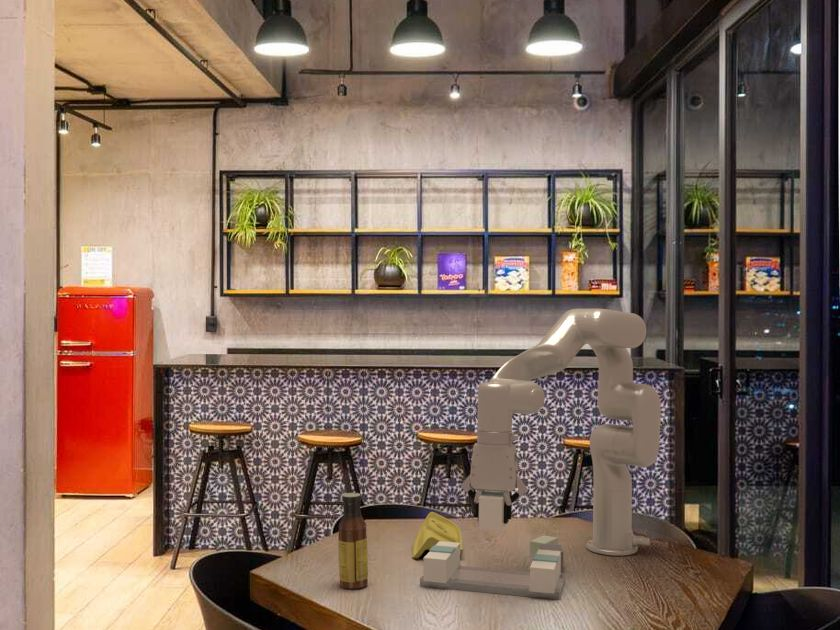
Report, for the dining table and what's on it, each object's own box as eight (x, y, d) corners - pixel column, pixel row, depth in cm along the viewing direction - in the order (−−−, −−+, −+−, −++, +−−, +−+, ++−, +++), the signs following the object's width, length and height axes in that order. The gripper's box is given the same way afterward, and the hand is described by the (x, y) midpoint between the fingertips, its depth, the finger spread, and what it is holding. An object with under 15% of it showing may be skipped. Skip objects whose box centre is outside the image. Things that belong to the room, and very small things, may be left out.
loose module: (507, 523, 186) (508, 490, 186) (501, 531, 178) (502, 497, 178) (485, 521, 187) (485, 488, 187) (478, 529, 180) (478, 496, 180)
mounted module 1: (460, 564, 192) (460, 541, 192) (446, 583, 178) (446, 558, 178) (438, 562, 193) (438, 539, 193) (423, 581, 180) (423, 556, 180)
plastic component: (462, 552, 200) (425, 533, 199) (449, 578, 200) (411, 560, 200) (460, 525, 219) (426, 508, 219) (447, 549, 220) (414, 533, 220)
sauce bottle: (366, 580, 184) (367, 490, 185) (369, 589, 178) (370, 496, 178) (336, 581, 183) (337, 491, 183) (338, 591, 177) (339, 497, 177)
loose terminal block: (557, 553, 207) (557, 537, 207) (544, 560, 202) (544, 543, 202) (543, 551, 210) (543, 535, 210) (529, 557, 204) (530, 541, 204)
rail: (564, 582, 185) (564, 575, 185) (559, 599, 173) (559, 592, 173) (433, 570, 193) (433, 563, 193) (420, 586, 181) (420, 579, 181)
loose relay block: (560, 565, 197) (561, 544, 197) (562, 573, 191) (563, 552, 191) (539, 565, 198) (539, 544, 198) (541, 572, 192) (541, 551, 192)
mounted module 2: (560, 573, 186) (561, 549, 186) (554, 593, 172) (554, 567, 172) (538, 571, 187) (538, 547, 187) (529, 591, 174) (529, 565, 174)
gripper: (535, 438, 184) (534, 520, 184) (460, 434, 189) (459, 514, 189) (530, 442, 177) (529, 528, 177) (452, 438, 182) (451, 522, 181)
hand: (493, 520), depth 183 cm, fingers closed on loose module, 5 cm apart
